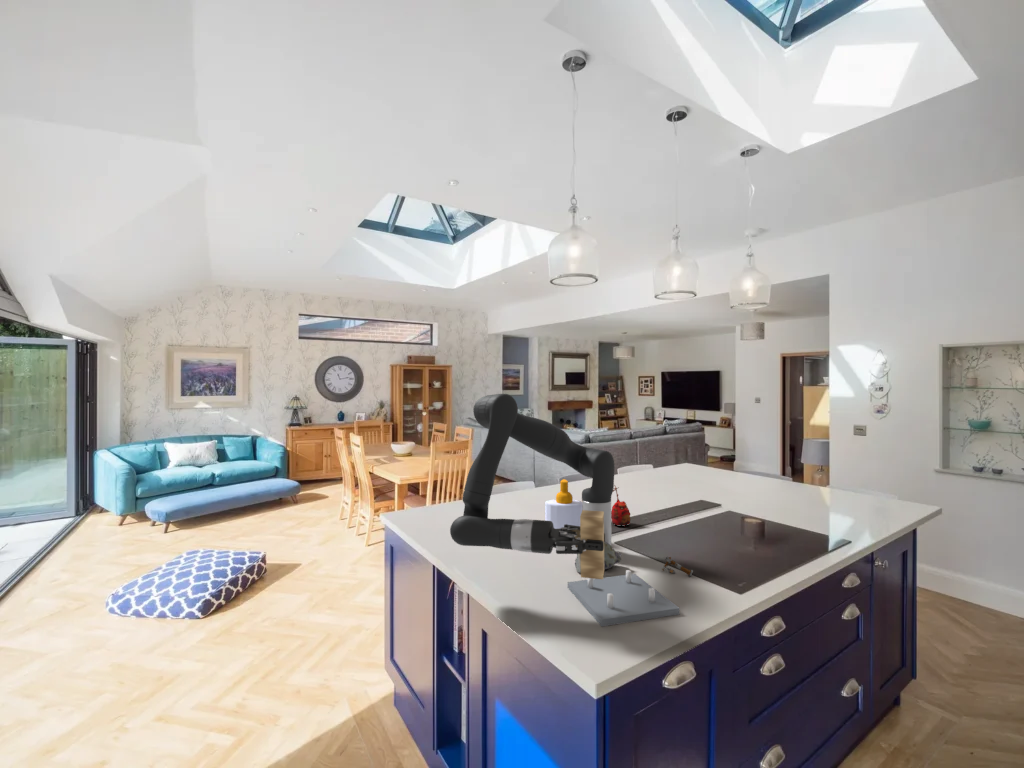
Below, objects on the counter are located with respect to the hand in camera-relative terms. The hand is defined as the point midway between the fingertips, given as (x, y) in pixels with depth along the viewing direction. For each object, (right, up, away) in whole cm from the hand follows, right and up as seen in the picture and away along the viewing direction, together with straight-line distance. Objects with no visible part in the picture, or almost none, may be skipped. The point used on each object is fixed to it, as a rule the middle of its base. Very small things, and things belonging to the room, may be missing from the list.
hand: (603, 541), depth 105 cm
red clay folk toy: (+20, -18, +69) cm, 74 cm away
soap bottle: (-3, -18, +53) cm, 56 cm away
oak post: (-2, -8, +1) cm, 8 cm away
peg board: (+6, -18, +8) cm, 20 cm away
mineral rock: (+4, -18, +27) cm, 33 cm away
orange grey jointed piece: (+26, -18, +24) cm, 40 cm away
